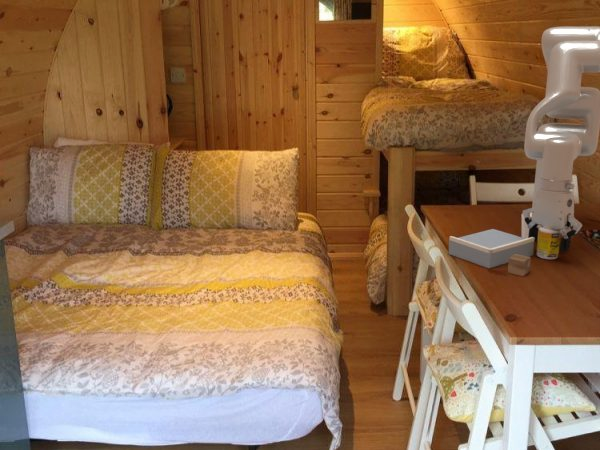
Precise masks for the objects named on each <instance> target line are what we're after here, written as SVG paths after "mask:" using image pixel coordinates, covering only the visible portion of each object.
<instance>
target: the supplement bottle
mask: <svg viewBox="0 0 600 450" xmlns="http://www.w3.org/2000/svg"><path fill="white" fill-rule="evenodd" d="M561 236H562V234H561V232H560V230H557V229H553V228H550V227H547V226H541V227H540V228H539V234H538V240H537V244H536V245H537V247H536V256H537V257H539V258H540V259H543V260H555V259H557V258H558V256H559V252H560V243H561Z"/></svg>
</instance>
